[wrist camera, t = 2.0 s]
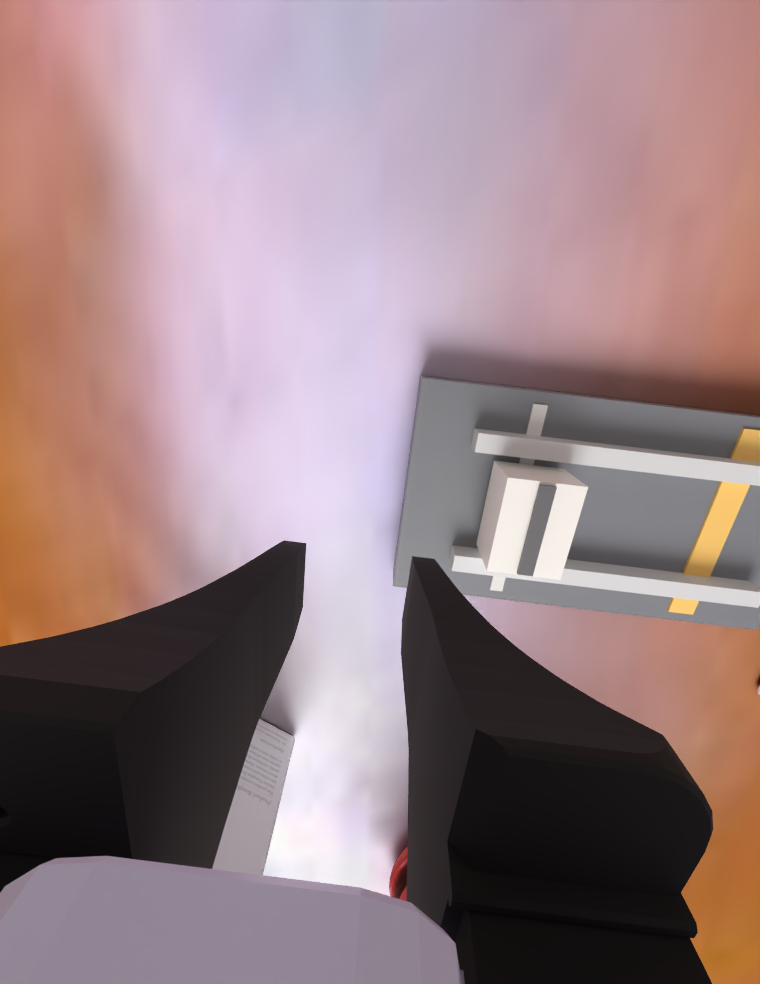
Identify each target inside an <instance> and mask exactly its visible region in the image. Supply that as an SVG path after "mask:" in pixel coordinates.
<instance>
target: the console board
mask: <svg viewBox="0 0 760 984" xmlns="http://www.w3.org/2000/svg"><path fill="white" fill-rule="evenodd" d="M494 461H502V462H510V463H518V464H527V465H535V466H544V467H552V468H561V469H565V470H566V471H567V472H569V473H570V474H571V475H573V476H574V477H575V478H577V479H578V480H579V481H581V482H582V483H583V484H585V485H586V486H588V490H587V493H586V497H585V500H584V503H583V507H582V510H581V513H580V517H579V520H578V523H577V527H576V530H575V533H574V537H573V540H572V543H571V547H570V550H569V553H568V557H567V560H566V563H565V567H564V570H563V573H562V577H561V580H556V579H548V578H540V577H532V576H523V575H515V574H507V573H498V572H490V571H486V568H485V565H484V563H483V560H482V558H481V555H480V552H479V550H478V547H477V545H476V543H477V538H478V534H479V529H480V524H481V520H482V515H483V510H484V505H485V501H486V496H487V491H488V487H489V482H490V477H491V472H492V468H493V463H494ZM412 556H415V557H424V558H432V559H435V560H436V561H437V563H438V564H439V565H440V567H441V568H442V569H443V571H444V572H445V573H446V575H447V576H448V577H449V578H450V580H451V581H452V582H453V584H454V585H455V586H456V587H457V589H458V590H459V591H460V592H461V593H462V594H463V595H471V596H479V597H487V598H496V599H504V600H512V601H520V602H529V603H537V604H545V605H554V606H562V607H570V608H578V609H587V610H595V611H603V612H611V613H620V614H628V615H636V616H645V617H653V618H661V619H669V620H678V621H686V622H694V623H702V624H711V625H719V626H727V627H736V628H744V629H752V630H757V628H758V626H759V625H760V415H752V414H743V413H735V412H726V411H718V410H709V409H701V408H692V407H684V406H675V405H667V404H658V403H650V402H641V401H633V400H624V399H616V398H607V397H598V396H590V395H581V394H573V393H564V392H556V391H547V390H539V389H530V388H522V387H513V386H505V385H496V384H488V383H479V382H471V381H462V380H454V379H445V378H437V377H428V376H420V383H419V390H418V397H417V404H416V412H415V419H414V426H413V433H412V441H411V448H410V455H409V462H408V469H407V477H406V484H405V491H404V498H403V506H402V513H401V520H400V527H399V534H398V542H397V549H396V556H395V563H394V571H393V586H396V587H405V588H407V586H408V579H409V573H410V566H411V560H412Z"/></svg>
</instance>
